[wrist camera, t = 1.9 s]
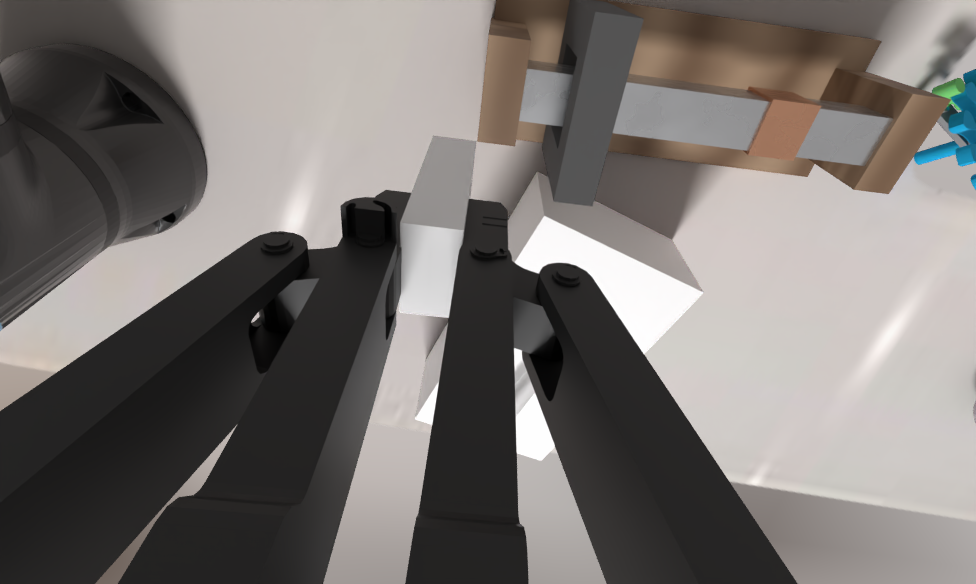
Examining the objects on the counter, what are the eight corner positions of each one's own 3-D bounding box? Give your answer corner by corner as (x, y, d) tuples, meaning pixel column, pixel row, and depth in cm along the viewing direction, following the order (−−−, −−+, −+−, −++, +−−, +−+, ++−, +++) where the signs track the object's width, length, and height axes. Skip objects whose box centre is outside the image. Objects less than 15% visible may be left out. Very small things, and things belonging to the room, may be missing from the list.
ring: (541, 146, 37) (553, 201, 28) (570, -4, 31) (595, 11, 23) (572, 150, 37) (592, 206, 29) (606, 1, 31) (643, 18, 23)
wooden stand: (479, 130, 38) (474, 171, 31) (495, -16, 32) (493, -8, 25) (803, 172, 39) (870, 220, 32) (874, 39, 33) (976, 62, 26)
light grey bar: (499, 108, 32) (498, 122, 29) (506, 52, 30) (506, 62, 27) (850, 154, 33) (882, 172, 30) (879, 104, 31) (916, 118, 28)
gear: (1070, 122, 35) (1042, 227, 32) (968, 152, 41) (937, 243, 38) (987, 19, 33) (950, 124, 30) (890, 66, 38) (852, 157, 36)
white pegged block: (671, 238, 44) (714, 310, 35) (535, 398, 57) (542, 480, 48) (536, 170, 40) (547, 231, 31) (426, 358, 53) (411, 438, 44)
